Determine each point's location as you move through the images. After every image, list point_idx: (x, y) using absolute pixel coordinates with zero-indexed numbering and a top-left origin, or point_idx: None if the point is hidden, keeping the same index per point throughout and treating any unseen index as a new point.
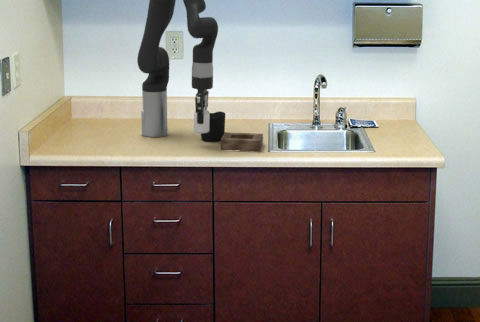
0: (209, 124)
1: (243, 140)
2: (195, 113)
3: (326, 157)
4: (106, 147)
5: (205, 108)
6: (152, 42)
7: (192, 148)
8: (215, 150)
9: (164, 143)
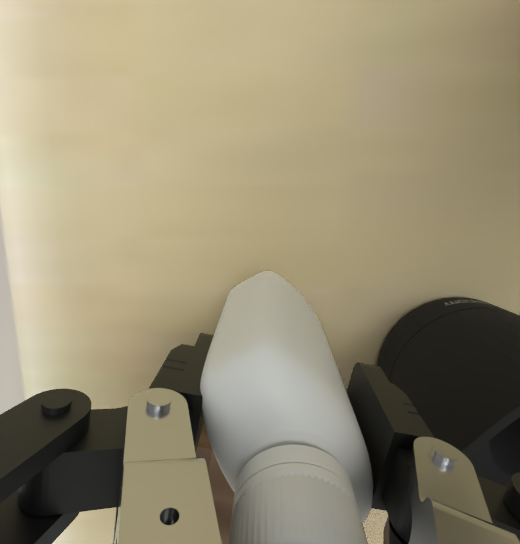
0: (425, 411)
1: None
2: (224, 361)
3: None
4: None
5: (388, 531)
6: None
7: (230, 239)
8: None
9: (375, 36)
